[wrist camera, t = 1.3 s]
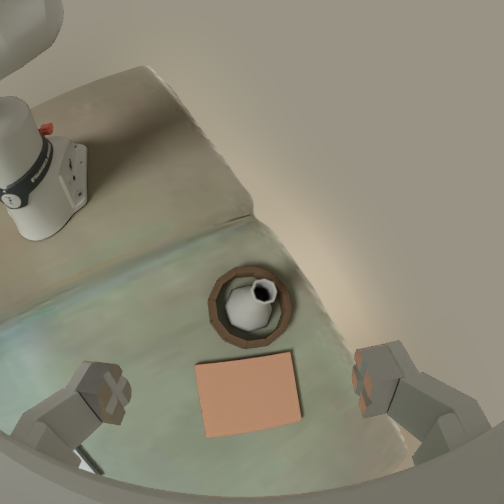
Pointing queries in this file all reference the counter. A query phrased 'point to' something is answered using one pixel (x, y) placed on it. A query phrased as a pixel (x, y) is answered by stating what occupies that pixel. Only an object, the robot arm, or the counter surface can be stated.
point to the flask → (251, 305)
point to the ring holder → (258, 274)
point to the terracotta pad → (247, 394)
